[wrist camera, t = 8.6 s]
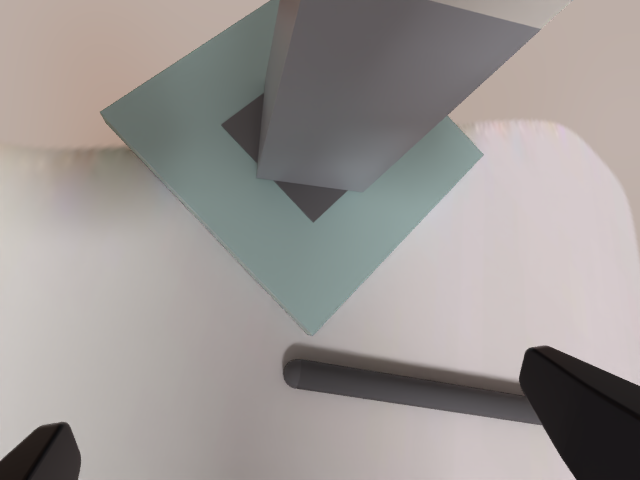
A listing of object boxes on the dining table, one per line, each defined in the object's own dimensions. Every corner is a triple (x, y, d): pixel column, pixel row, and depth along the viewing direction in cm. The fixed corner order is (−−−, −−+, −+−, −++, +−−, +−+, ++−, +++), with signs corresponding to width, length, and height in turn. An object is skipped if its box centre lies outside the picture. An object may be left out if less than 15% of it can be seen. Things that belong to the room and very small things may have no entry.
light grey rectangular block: (362, 192, 19) (582, -9, 7) (256, 177, 18) (321, -85, 6) (365, 97, 20) (561, -208, 8) (265, 77, 19) (335, -301, 7)
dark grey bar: (569, 402, 21) (589, 407, 20) (568, 427, 20) (589, 433, 19) (284, 356, 18) (288, 358, 17) (279, 384, 18) (283, 388, 16)
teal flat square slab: (472, 162, 22) (485, 153, 21) (308, 334, 18) (313, 335, 17) (309, -13, 22) (314, -30, 21) (106, 123, 18) (99, 110, 17)
